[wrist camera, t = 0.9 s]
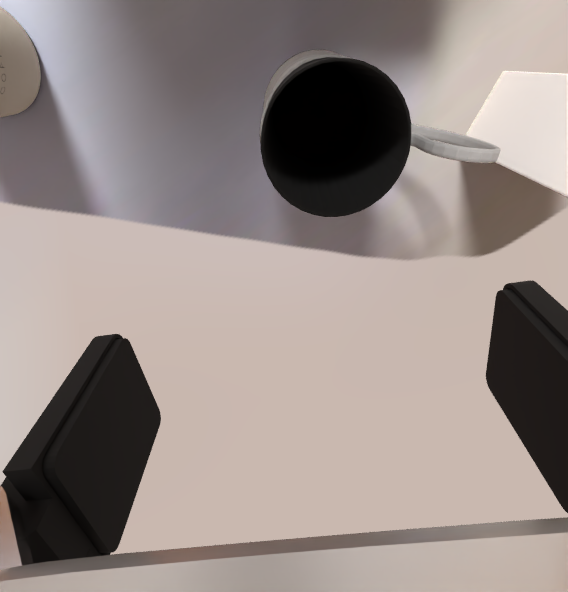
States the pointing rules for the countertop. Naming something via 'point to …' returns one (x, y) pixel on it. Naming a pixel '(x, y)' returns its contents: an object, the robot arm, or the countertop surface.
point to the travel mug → (16, 67)
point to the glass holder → (345, 134)
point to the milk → (528, 126)
